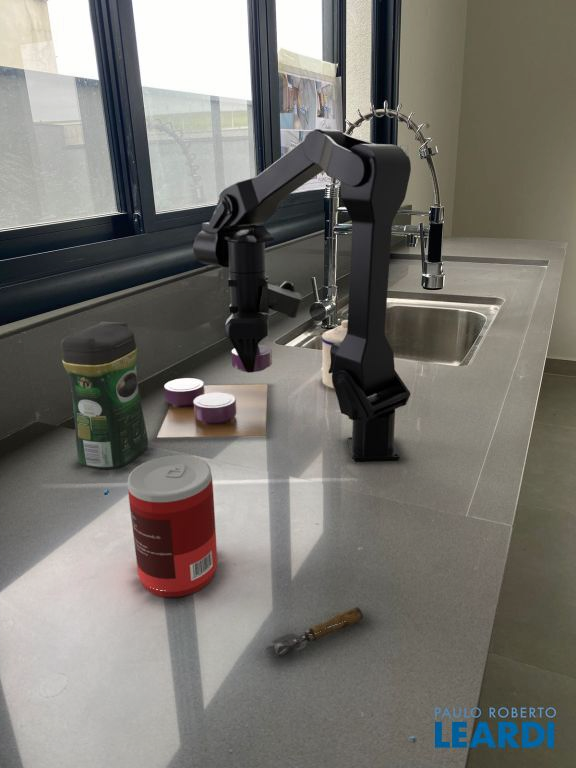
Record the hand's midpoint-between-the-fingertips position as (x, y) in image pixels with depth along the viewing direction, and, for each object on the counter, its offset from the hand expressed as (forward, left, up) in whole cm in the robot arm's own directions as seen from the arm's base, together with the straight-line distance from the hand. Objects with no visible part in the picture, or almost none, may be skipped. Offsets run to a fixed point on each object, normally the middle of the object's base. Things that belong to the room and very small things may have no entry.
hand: (251, 365), depth 100 cm
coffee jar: (-19, +19, -7) cm, 27 cm away
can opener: (-54, -7, -7) cm, 55 cm away
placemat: (-3, +6, -7) cm, 9 cm away
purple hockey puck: (0, +11, -6) cm, 13 cm away
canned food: (-45, +6, -7) cm, 46 cm away
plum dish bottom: (-7, +6, -6) cm, 11 cm away
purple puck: (0, 0, 0) cm, 0 cm away
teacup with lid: (+10, -17, -7) cm, 21 cm away
